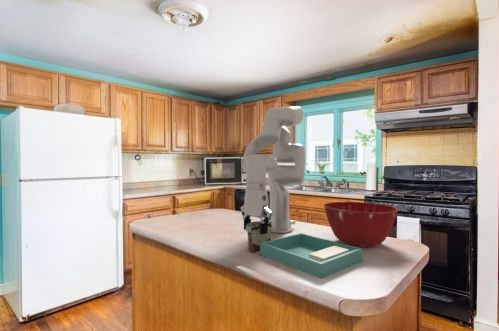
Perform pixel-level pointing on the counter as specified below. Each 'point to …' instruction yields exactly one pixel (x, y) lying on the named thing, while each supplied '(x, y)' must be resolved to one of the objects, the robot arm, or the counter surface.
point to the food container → (257, 236)
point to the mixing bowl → (360, 222)
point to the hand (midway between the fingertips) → (255, 231)
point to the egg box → (327, 253)
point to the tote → (299, 248)
